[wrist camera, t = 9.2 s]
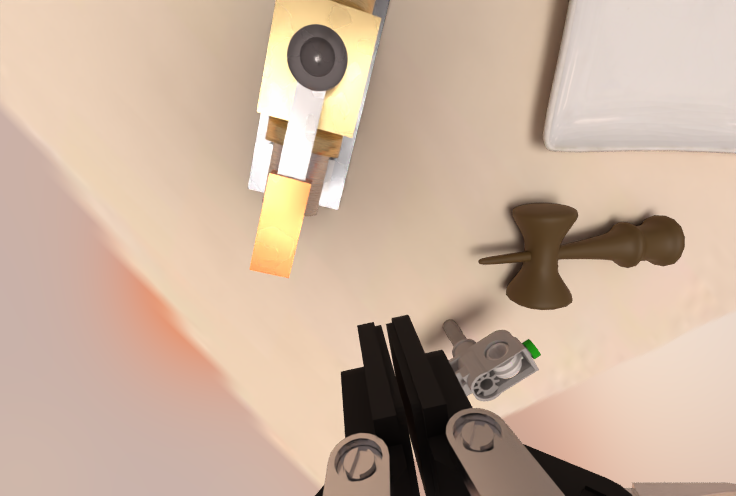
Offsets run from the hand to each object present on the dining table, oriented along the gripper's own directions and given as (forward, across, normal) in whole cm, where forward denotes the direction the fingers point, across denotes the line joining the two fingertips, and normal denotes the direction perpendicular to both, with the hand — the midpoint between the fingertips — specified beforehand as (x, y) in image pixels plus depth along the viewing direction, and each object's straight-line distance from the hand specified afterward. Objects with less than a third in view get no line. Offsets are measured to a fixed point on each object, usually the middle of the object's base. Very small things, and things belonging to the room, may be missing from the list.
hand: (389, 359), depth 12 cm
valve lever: (+14, +3, -5) cm, 15 cm away
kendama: (+25, -21, +9) cm, 34 cm away
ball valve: (+25, 0, -10) cm, 27 cm away
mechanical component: (+25, -8, +16) cm, 31 cm away
